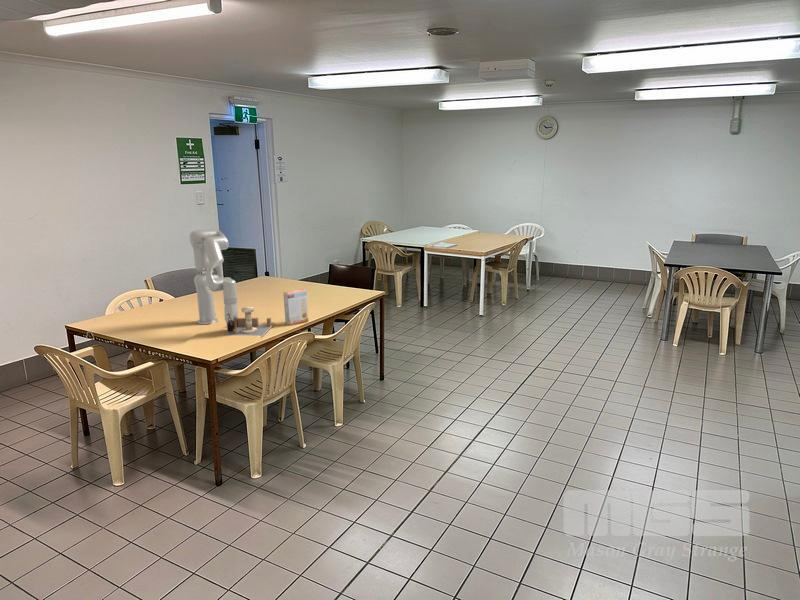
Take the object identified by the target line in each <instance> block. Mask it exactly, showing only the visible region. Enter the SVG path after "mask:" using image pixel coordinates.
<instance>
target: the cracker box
mask: <svg viewBox="0 0 800 600" xmlns="http://www.w3.org/2000/svg"><path fill="white" fill-rule="evenodd" d="M282 293H283V308H284V322H285V324H286V325H287V326H294V325H298V324H303V323H308V322H309V307H308V290H306V289H303V288H300V289H295V290H289V291H283V292H282Z"/></svg>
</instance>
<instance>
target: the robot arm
mask: <svg viewBox="0 0 800 600" xmlns="http://www.w3.org/2000/svg"><path fill="white" fill-rule="evenodd" d="M189 242H190V245H191V247H192V250H193V259H194V266H195V269H196V271H197V272H200V273H199V274H196V275H195V276H194V278H193V283H194V286H195V290H196V297H197V307H198V308H197V309H198V316H199V317H198V319H197V324H198V325H211V324H212V323H218V322H219V320H218V318H217V317H216V315H217V313H216V312H215V302H214V301H215V300H214V299H215V298H214V294H213V293H216V292H222V295H223V296H222V297H223V304H224V310H223V311H224V321H226V322H225V323H226V328H227V331H228V332H233V325H232V321H233V320H234V319H237V318H239V311H238V293H237V282H236V280H234V279H232V278H231V277H229V276H228V277H224V275H223V266H222V265H223V263H224V260H225V259H224V256H223V253H222V251H223V250H227V249H229V244H230V243H229V240H228V238H227V237H226V235H225V234H224V233H223V232H222V231H221V230H219V229H218V228H205V229H204V228H203V229H196V230H193V231H191V232H190V234H189ZM201 272H203V273H201ZM230 319H231V320H230ZM230 321H231V323H230ZM237 327H238V319H237Z"/></svg>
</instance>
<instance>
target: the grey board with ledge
mask: <svg viewBox="0 0 800 600" xmlns="http://www.w3.org/2000/svg"><path fill="white" fill-rule="evenodd" d="M237 319H238V327H237V330H238V331H237V332H235V333H229V332H228V330H227V331H226V332H225V333H224V334H223V336H255V337H257V336H261V337H260V338H261V339H262V337H263V338H264V337H265V335H266V334H268V333H269V332H270V330H271V329H272V328H273V327H272V318H271V317H267V318H266V325H260V324H259V323H260V322H259V317H252V327H255V328H257V332H255V333H248V334H246V333H242V331H241V330H242V329H243V328H246V321H245V317H237Z"/></svg>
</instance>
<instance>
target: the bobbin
mask: <svg viewBox="0 0 800 600" xmlns="http://www.w3.org/2000/svg"><path fill="white" fill-rule="evenodd" d="M254 311H255V307H253V306H251V307H250V306H247V307H243V308H241V312H242V313H244V318H245V321H246V328H243V329H242V330H241V331H242V333H246V334H248V333H255V332H257V328H255V327H252V318H253V316H252V312H254Z"/></svg>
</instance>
